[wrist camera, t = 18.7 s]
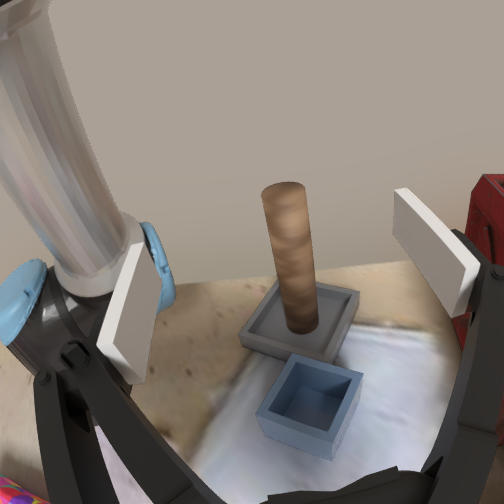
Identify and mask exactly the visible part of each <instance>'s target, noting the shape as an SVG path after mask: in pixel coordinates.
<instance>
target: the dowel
mask: <svg viewBox="0 0 504 504" xmlns="http://www.w3.org/2000/svg"><path fill="white" fill-rule="evenodd" d="M261 197H262V201H263V206H264V212H265V216H266V221H267V226H268V231H269V236H270V241H271V246H272V251H273V256H274V261H275V267H276V271H277V277H278V282H279V287H280V292H281V298H282V303H283V308H284V313H285V319H286V324H287V328H288V329H289V330H290V331H291V332H292V333H295V334H299V335H304V334H308V333H311V332H312V331H314V330H315V329H316V328H317V326H318V324H319V316H318V303H317V292H316V281H315V270H314V260H313V251H312V241H311V232H310V224H309V215H308V207H307V199H306V192H305V187H304V186H303V185H302V184H300V183H297V182H281V183H277V184H273V185H271V186H269V187H267V188H265V189H264V190H263V191H262V193H261Z"/></svg>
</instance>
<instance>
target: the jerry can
mask: <svg viewBox="0 0 504 504" xmlns="http://www.w3.org/2000/svg"><path fill="white" fill-rule="evenodd" d="M465 235H466V237H467V238H468V239H469V240H470V242H472V243H473V244H474V245H475V247H477V248H478V249H479V250H480V251H481V253H482V254H483V255H484V256H485V257H486V258H487V259H488V260H489V261H490V263H491V264H497V265H501V266H504V174H483V175H482V177H481V178H480V179H479V181H478V183H477V184H476V186H475V187H474V189H473V190H472V192H471V199H470V205H469V212H468V218H467V224H466V229H465ZM471 312H472V308H471V307H470V305H469V304H468V305H467V308H466V311H465V314H462V315H459V316H456V317H454V318H451V319H452V322H453V325H454V328H455V331H456V334H457V337H458V340H459V344H460V347H461V350H462V354H463V350H464V345H465V340H466V336H467V331H468V327H466V325H467V322H468V320H469V317H470V315H471ZM495 433H496V434H497V435H498V444H497V446H499V445H502V444H504V390H503V396H502V401H501V406H500V411H499V415H498V420H497V424H496V428H495Z"/></svg>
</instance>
